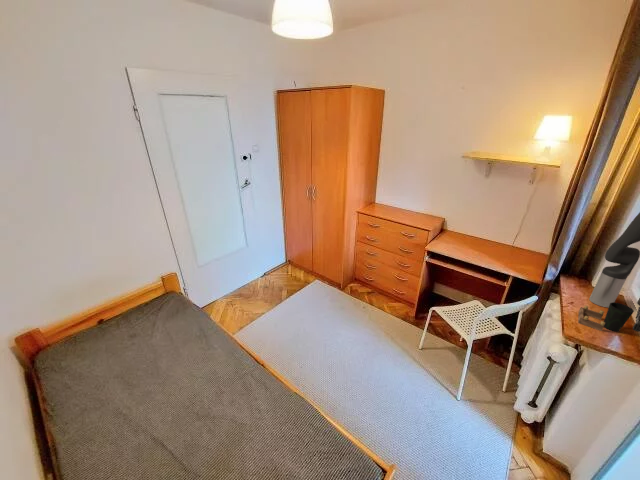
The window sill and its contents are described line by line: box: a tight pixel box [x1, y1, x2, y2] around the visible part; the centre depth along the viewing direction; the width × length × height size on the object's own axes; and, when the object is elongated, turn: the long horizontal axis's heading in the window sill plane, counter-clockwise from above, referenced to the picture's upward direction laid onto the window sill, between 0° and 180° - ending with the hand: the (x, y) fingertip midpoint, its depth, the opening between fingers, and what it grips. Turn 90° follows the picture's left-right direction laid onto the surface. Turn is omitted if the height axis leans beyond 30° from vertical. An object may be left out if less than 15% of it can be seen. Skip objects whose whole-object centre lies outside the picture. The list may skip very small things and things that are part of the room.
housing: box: [577, 305, 605, 332], centre depth 133 cm, size 13×8×4 cm, turn 138°
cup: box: [603, 301, 635, 333], centre depth 127 cm, size 8×8×12 cm
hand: (635, 330), depth 123 cm, fingers closed
